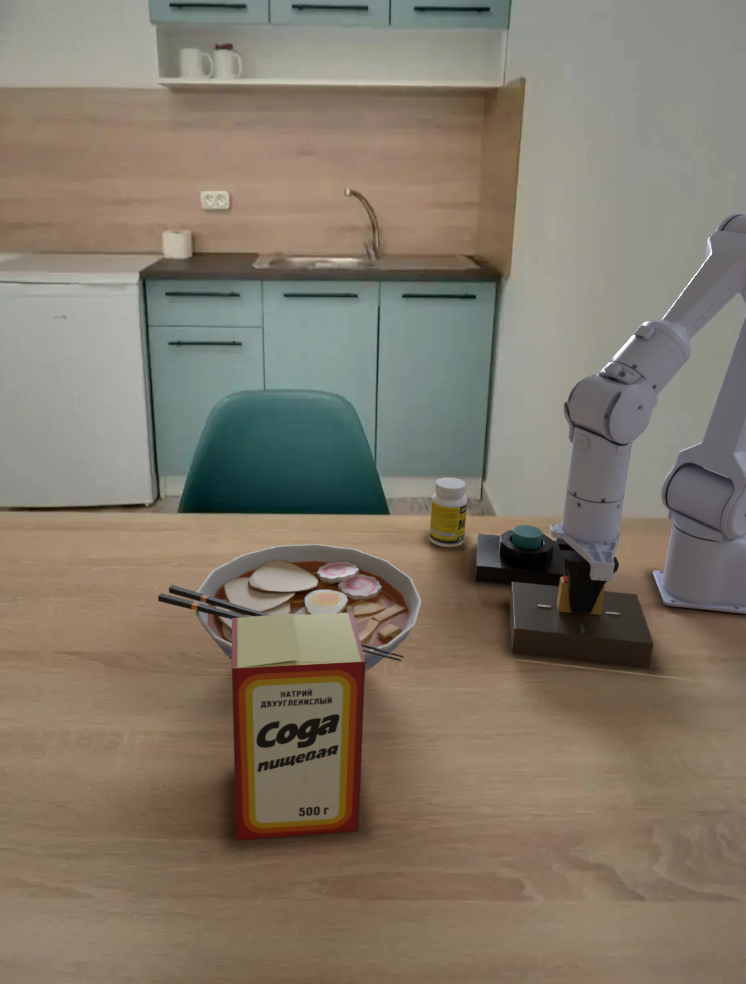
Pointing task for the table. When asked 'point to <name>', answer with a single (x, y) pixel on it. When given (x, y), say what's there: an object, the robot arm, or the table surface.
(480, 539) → the block
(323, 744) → the baking soda box
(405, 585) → the ramen bowl
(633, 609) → the lock plate
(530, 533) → the bell button
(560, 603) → the lock knob
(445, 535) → the supplement bottle
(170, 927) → the table surface
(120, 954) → the table surface
